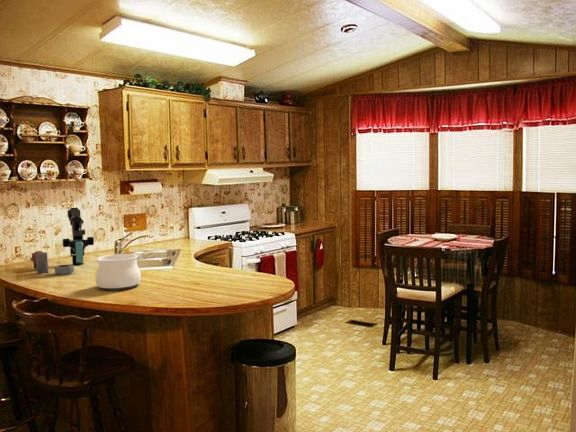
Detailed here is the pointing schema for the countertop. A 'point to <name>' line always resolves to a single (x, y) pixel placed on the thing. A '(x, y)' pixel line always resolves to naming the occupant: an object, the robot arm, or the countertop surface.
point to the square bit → (79, 252)
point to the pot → (118, 272)
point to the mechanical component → (35, 259)
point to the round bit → (42, 262)
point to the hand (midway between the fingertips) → (79, 252)
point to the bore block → (64, 269)
